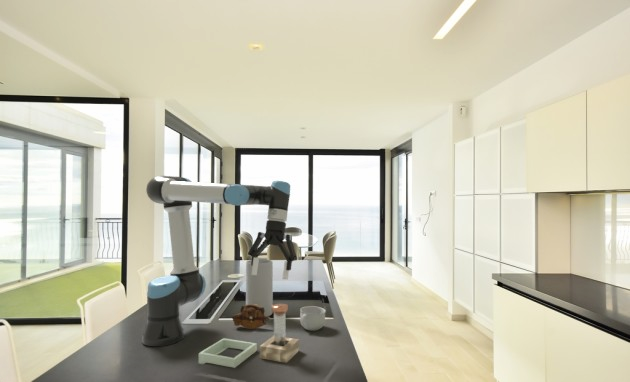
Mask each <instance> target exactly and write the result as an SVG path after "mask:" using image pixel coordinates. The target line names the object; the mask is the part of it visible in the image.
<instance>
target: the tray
mask: <svg viewBox="0 0 630 382" xmlns="http://www.w3.org/2000/svg"><path fill="white" fill-rule="evenodd" d="M257 347H258V343H256V342H249V341H244V340H236V339H231V338H225V337H223V338H222V339H220V340H218V341H216V342H215V343H213V344H211V345H210V346H208V347H207V348H205V349H202V351H200V352H199V353H198V365H204V364H206V363H207V364H214V365H217V366H224V367H229V368H234V369H236V368H237V367H238V366H239V365H240V364H241V363H243V362H245V361H246V360H247V359H248V358H250V357H251V355H253V354H255V353H256V352H257V351H258V348H257ZM229 348H231V349H238V350H242V352H239V354H237V355H235V356H234V357H230V356H225V355H220V354H221V353H222V352H224V351H226V350H227V349H229Z"/></svg>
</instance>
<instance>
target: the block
mask: <svg viewBox="0 0 630 382" xmlns="http://www.w3.org/2000/svg"><path fill="white" fill-rule="evenodd" d="M299 340H300V339H298V338H292V337H291V338H290V337H286V345H284V346H277V345H274V335H272V336H271V337H270V338H268V339H267V340H265V342H263V343H262V344H261V345H259V359H262V360H263V359H264V360H268V361H275V362H280V363H285V364H286V363H288V362H289V361H290V360H291V359H293V357H294V356H295V355H296V354H298V352H299V351H300V344H299V343H300V341H299Z"/></svg>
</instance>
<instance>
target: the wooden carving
mask: <svg viewBox="0 0 630 382" xmlns="http://www.w3.org/2000/svg"><path fill="white" fill-rule="evenodd" d="M240 312H241V313H240ZM240 312H239V313H236V314H233V315H232V316H231V319H232V321H233V324H234V326H235V327H239V326H241V327H242V328H245V329H247V330H248V329H249V330H255V329H259V328H261V327H263V326H265V325H267V322H266V321H267V320H269V319H271V317H270V316H267V317H266V316H265V315H264V312H265V309H264V307H261V306H259V305H256V304H248V305H246V304H243V305H241V308H240Z"/></svg>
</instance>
